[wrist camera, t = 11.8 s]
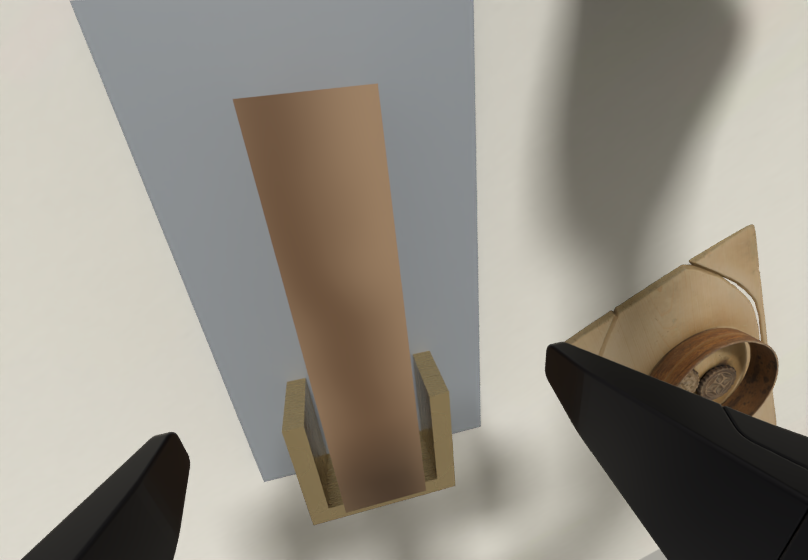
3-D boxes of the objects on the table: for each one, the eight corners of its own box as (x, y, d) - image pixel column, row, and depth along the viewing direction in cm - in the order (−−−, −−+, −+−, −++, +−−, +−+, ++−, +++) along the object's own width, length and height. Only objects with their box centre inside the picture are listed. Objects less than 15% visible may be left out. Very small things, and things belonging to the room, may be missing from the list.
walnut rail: (359, 90, 15) (377, 83, 11) (404, 416, 23) (426, 490, 19) (257, 101, 14) (232, 99, 10) (339, 432, 22) (345, 512, 18)
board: (542, 340, 25) (572, 370, 22) (743, 207, 24) (802, 221, 21) (634, 505, 36) (662, 540, 33) (773, 420, 35) (814, 448, 32)
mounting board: (465, -20, 15) (472, -26, 14) (475, 417, 25) (480, 426, 25) (83, 6, 13) (69, 0, 12) (265, 470, 23) (264, 481, 23)
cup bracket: (429, 350, 21) (449, 392, 18) (437, 437, 24) (455, 485, 21) (286, 381, 20) (281, 431, 17) (313, 469, 23) (313, 525, 20)
